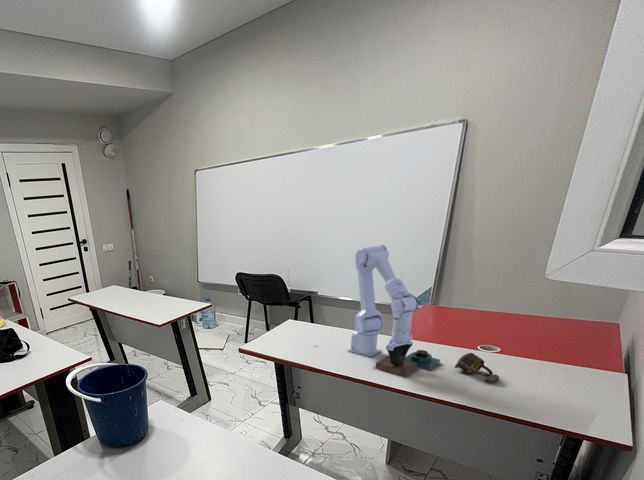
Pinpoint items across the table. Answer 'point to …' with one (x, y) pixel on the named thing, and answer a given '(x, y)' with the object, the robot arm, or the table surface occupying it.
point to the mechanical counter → (475, 366)
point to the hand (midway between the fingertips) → (397, 362)
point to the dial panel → (397, 367)
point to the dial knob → (401, 359)
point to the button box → (423, 361)
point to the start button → (421, 353)
